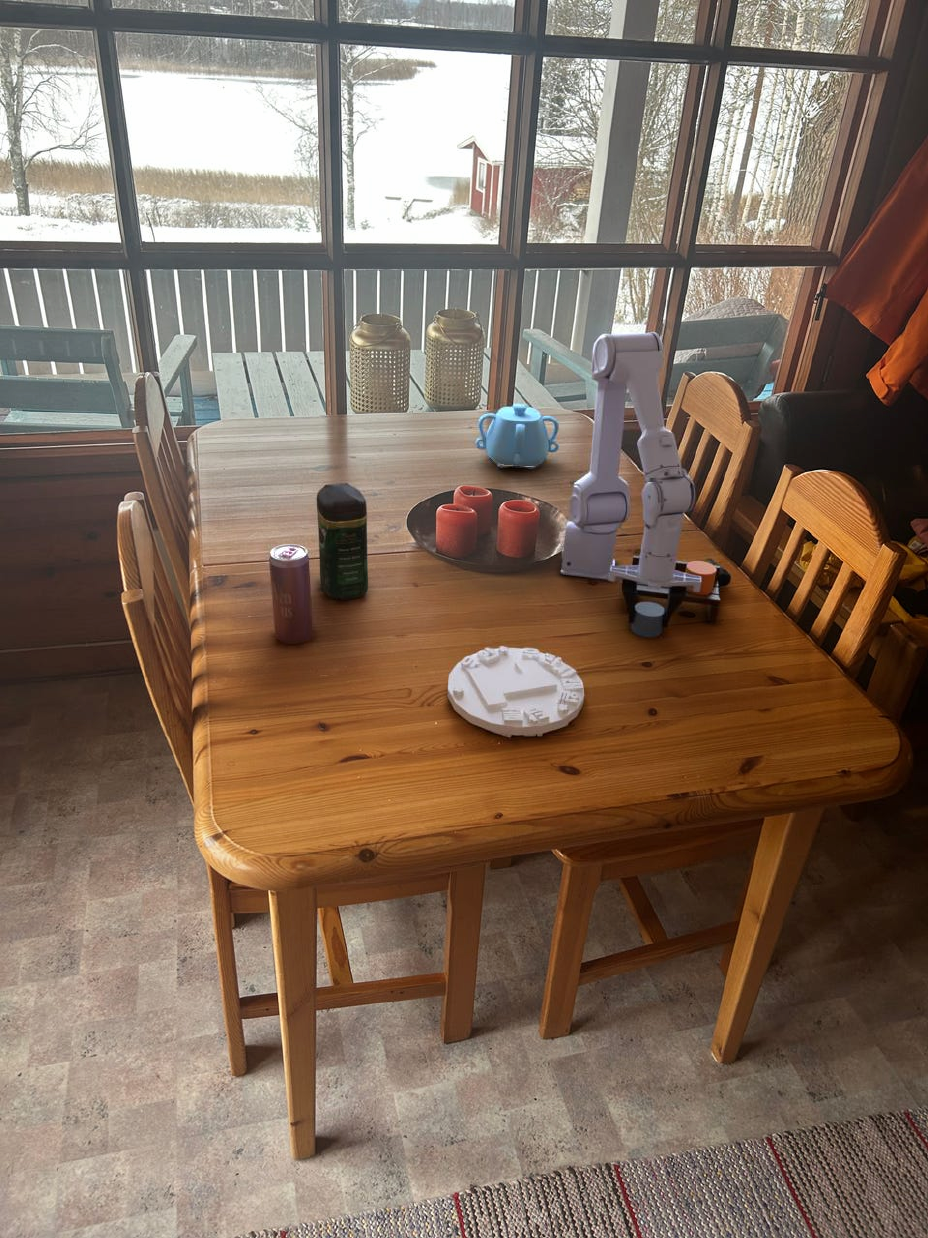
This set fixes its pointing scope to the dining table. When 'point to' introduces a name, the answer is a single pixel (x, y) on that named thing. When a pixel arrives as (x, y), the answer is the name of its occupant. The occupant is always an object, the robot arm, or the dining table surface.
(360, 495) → the coffee jar
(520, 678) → the white flat round disc
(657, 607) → the grey squat cylinder
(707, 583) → the orange squat cylinder
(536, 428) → the decorative pot
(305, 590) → the beverage can
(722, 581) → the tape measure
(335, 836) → the dining table surface
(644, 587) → the rack
